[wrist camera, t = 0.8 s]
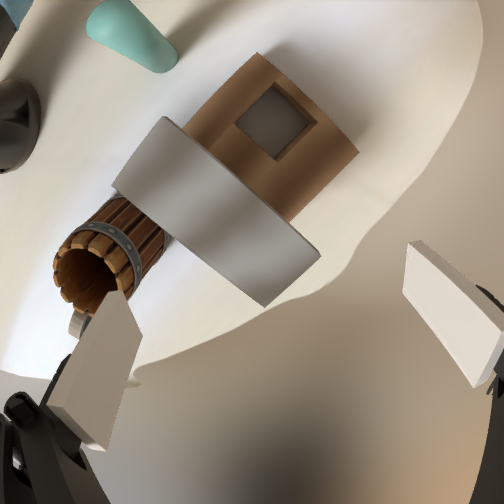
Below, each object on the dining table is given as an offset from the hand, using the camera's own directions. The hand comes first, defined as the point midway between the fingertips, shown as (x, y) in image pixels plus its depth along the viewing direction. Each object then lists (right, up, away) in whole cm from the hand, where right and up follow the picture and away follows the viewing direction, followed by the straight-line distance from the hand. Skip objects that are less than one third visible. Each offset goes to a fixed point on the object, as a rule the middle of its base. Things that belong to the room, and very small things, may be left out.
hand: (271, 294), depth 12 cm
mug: (-18, +3, +26) cm, 31 cm away
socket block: (-1, +14, +21) cm, 25 cm away
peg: (-12, +25, +16) cm, 32 cm away
